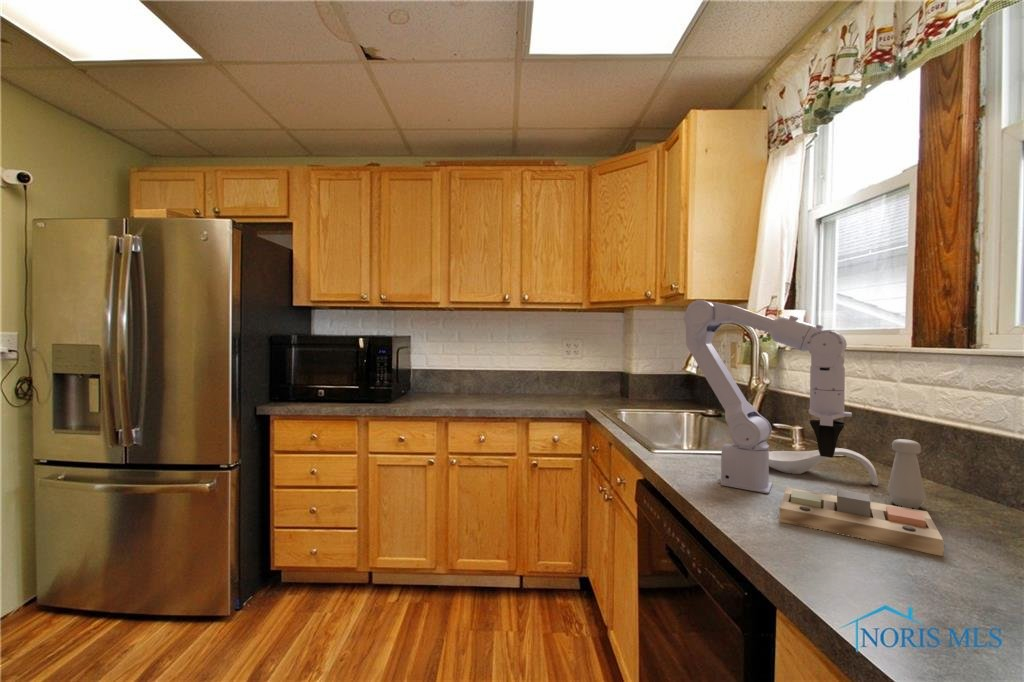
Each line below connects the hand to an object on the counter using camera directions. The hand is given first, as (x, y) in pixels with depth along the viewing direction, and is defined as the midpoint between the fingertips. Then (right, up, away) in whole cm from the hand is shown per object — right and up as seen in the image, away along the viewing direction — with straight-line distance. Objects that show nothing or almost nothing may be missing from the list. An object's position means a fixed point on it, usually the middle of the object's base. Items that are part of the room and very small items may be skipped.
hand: (826, 456), depth 90 cm
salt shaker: (+15, -10, -1) cm, 18 cm away
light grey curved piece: (+11, -10, +19) cm, 24 cm away
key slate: (-3, -7, -10) cm, 13 cm away
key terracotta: (+3, -9, -15) cm, 17 cm away
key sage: (-8, -9, -6) cm, 14 cm away
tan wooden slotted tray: (-3, -9, -10) cm, 14 cm away
